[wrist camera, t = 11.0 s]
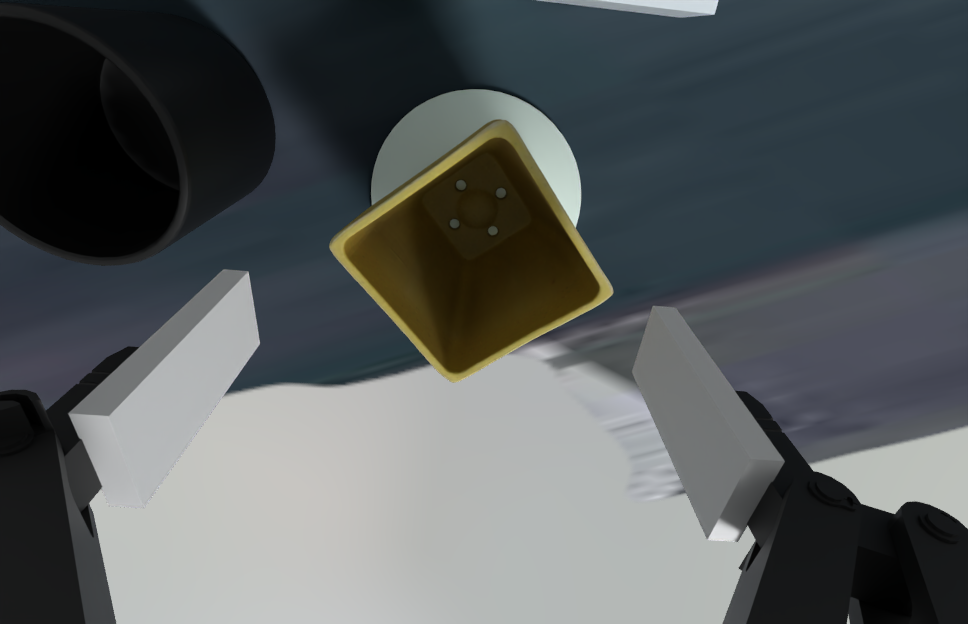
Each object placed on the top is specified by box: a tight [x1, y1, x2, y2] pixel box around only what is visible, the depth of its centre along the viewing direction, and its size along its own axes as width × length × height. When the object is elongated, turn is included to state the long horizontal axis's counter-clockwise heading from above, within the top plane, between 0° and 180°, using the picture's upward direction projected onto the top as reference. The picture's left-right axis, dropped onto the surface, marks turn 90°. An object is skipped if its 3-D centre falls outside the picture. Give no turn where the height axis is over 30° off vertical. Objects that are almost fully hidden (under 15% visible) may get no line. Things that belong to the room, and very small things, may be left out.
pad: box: [371, 89, 581, 235], centre depth 28 cm, size 12×12×1 cm
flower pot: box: [329, 119, 613, 383], centre depth 24 cm, size 9×9×9 cm
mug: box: [0, 2, 275, 266], centre depth 22 cm, size 9×12×9 cm
